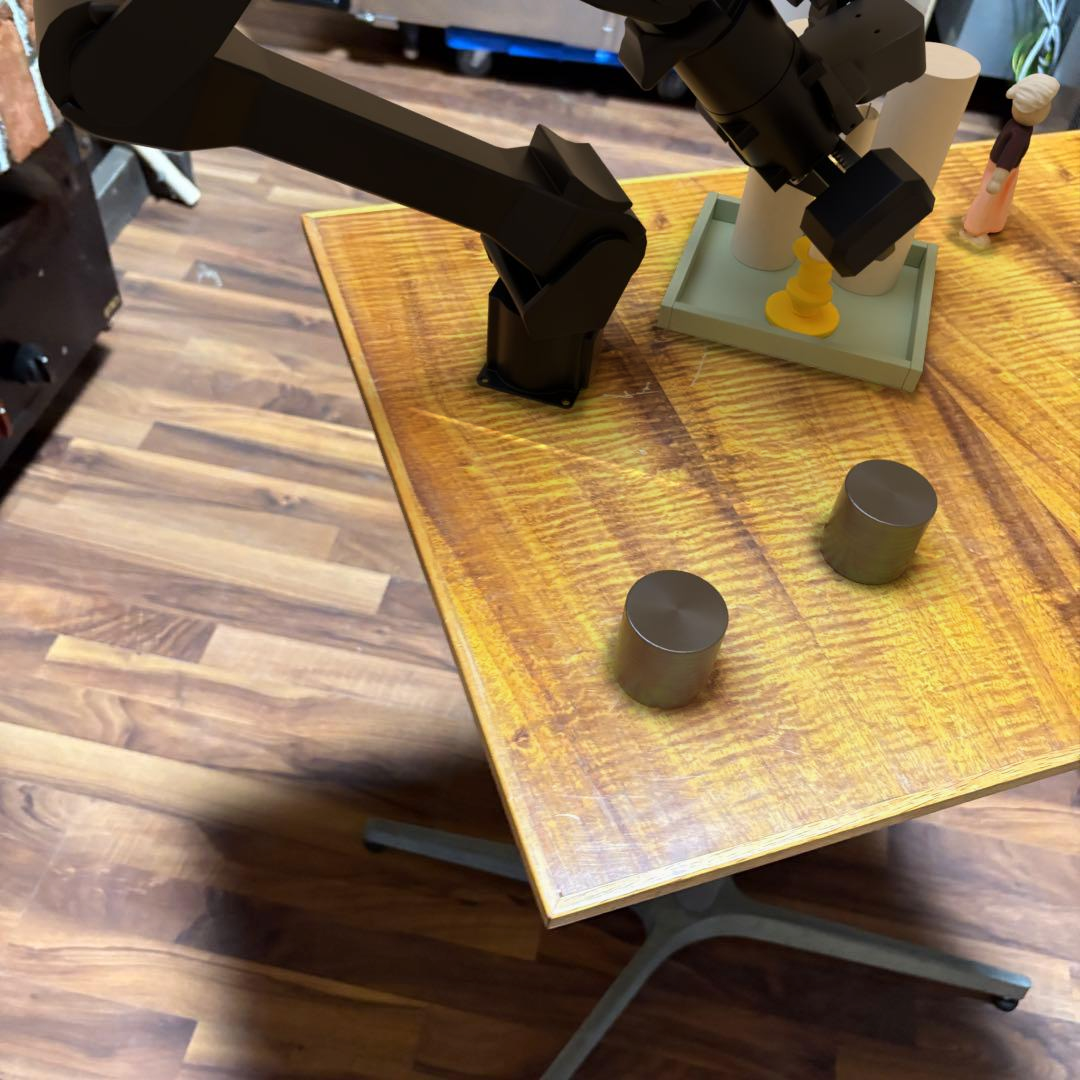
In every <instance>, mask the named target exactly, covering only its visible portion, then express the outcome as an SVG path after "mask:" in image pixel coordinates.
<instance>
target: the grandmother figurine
mask: <svg viewBox="0 0 1080 1080" xmlns="http://www.w3.org/2000/svg"><path fill="white" fill-rule="evenodd" d="M1060 87H1061V84H1060V83H1059V81H1058V80H1057V78H1055V77H1054V76H1051V75H1049V74H1046V73H1040V72H1039V73H1032V74H1029V75H1027V76H1025V77H1023V78H1021V79H1020V80H1019V81H1017V82H1016V83H1015V84H1013V85H1012V86H1011V87H1010V88H1009V89H1008V90H1007V91H1006V93H1005V97H1006V98H1007V99H1009V100H1012V107H1011V114H1012V117H1011V118H1010V119H1009V120H1008V121H1007V122H1006V123H1005V125H1004V127H1003V128H1002V130H1001V131H1000V132H999V133H998V134H997V137H995V138H996V139H995V141H994V143H993V145H992V147H991V150H990V152H989V156H988V160H987V163H986V165H985V168H984V170H983V173H982V176H981V181H980V186H979V192H978V194H977V195H976V197H975V198H974V199H973V200H972V202H971V204H970V206H969V208H968V210H967V212H966V214H965V215H964V216H962V217H961V219H960V220H961V222H962V223H964V224H963V228H964V229H961V230H959V231H958V234H959V236H960V237H961V238H963V239H965V240H966V241H969V242H971V243H972V244H974V245H977V246H980V247H987V246H989V245H991V243H992V241H991V237H990V236H989V235H988V234H989V233H998V232H1001V231H1002V230H1003V229H1004V228H1005V225H1006V222H1007V219H1008V216H1009V213H1010V210H1011V207H1012V203H1013V200H1014V195H1015V191H1016V187H1017V183H1018V177H1019V172H1020V165H1021V163H1022V160H1023V159H1024V157H1025V156H1026V154H1027V152H1028V150H1029V148H1030V145H1031V140H1032V136H1033V132H1034V126H1036V125H1038V124H1041V123H1042V122H1043V121H1045V120H1046V119H1047V117H1048V116H1049V114H1050V112H1051V109H1052V100H1053V99H1054V98H1055V97H1056V96H1057V94H1058V92H1059V90H1060Z"/></svg>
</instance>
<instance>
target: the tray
mask: <svg viewBox="0 0 1080 1080" xmlns="http://www.w3.org/2000/svg"><path fill="white" fill-rule="evenodd" d="M741 198H742V197H736V196H732V195H727V194H724V193H719V192H717V191H713V190H712V191H711V190H708V192H707V195H706V197H705V199H704V202H703V204H702V206H701V209H700V211H699V213H698V216H697V218H696V220H695V223H694V225H693V228H692V230H691V232H690V235H689V237H688V239H687V242H686V244H685V247H684V249H683V251H682V253H681V256H680V258H679V261H678V263H677V266H676V268H675V270H674V273H673V275H672V277H671V279H670V282H669V285H668V287H667V289H666V292H665V294H664V296H663V299H662V300H661V304H660V307H659V312H658V317H657V323H656V328H660V329H664V330H669V331H673V332H675V333H680V334H684V335H688V336H691V337H695V338H699V339H702V340H707V341H711V342H715V343H719V344H723V345H725V346H726V345H727V346H730V347H733V348H738V349H741V350H746V351H749V352H754V353H757V354H761V355H765V356H769V357H773V358H777V359H780V360H785V361H789V362H792V363H796V364H800V365H804V366H808V367H812V368H815V369H819V370H823V371H828V372H831V373H835V374H838V375H843V376H846V377H851V378H854V379H858V380H862V381H865V382H869V383H874V384H877V385H881V386H885V387H888V388H893V389H897V390H900V391H905V392H908V393H912V394H913V393H914V391H915V389H916V387H917V384H918V382H919V380H920V378H921V376H922V374H923V372H924V371H923V370H924V363H925V355H926V348H927V347H926V346H927V340H928V332H929V331H928V330H929V324H930V315H931V310H932V309H931V307H932V299H933V292H934V283H935V278H936V277H935V276H936V269H937V260H938V254H939V253H938V252H939V245H938V244H936V243H931V242H927V241H922V240H919V239H915V238H914V239H913V242H912V244H911V247H910V249H909V252H908V254H907V257H906V259H905V262H904V264H903V267H902V269H901V272H900V274H899V277H898V279H897V282H896V285H895V287H894V288H893V289H892V290H891V291H890V292H888V293H886V294H883V295H879V296H865V295H859V294H855V293H852V292H850V291H847V290H845V289H843V288H842V287H840V286H839V285H837V284H836V283H835V282H834V281H833V280H832V278H831V279H830V281H829V283H828V284H829V285H830V286H831V287H832V290H833V296H832V299H831V301H830V302H831V303H832V304H833V305H834V306H835V307H836V309H837V311H838V313H839V323H838V326H837V328H836V330H835V331H834V332H833V333H832V334H831V335H829V336H827V337H825V338H822V339H821V338H817V337H814V336H810V335H806V334H802V333H798V332H794V331H790V330H786V329H782V328H778V327H774V326H772V325H771V324H770V323H769V322H768V320H767V319H766V316H765V313H764V312H765V305H766V302H767V300H768V298H769V297H770V296H772V295H773V294H774V293H777V292H779V291H782V290H786V285H787V283H788V281H789V280H790V279H791V278H792V277H794V276H797V275H798V271H799V267H800V266H801V264H802V261H801V260H799V259H798V258H797V257H796V259H795V261H794V263H793V264H792V265H791V266H789V267H787V268H785V269H782V270H777V271H765V270H759V269H755V268H752V267H749V266H747V265H745V264H743V263H741V262H740V261H738V260H737V259H736V258H735V257H734V256H733V254H732V252H731V249H730V244H731V240H732V236H733V231H734V227H735V223H736V219H737V215H738V211H739V207H740V203H741ZM804 236H806V235H805V234H804V233H803V236H802V237H804Z"/></svg>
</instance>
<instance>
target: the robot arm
mask: <svg viewBox="0 0 1080 1080" xmlns="http://www.w3.org/2000/svg"><path fill="white" fill-rule="evenodd" d="M579 1H580V2H582V3H584V4H586V5H589V6H590V7H593V8H594V9H595V8H596V9H598V10H600V11H604V12H608V13H610V14H614V15H619V16H623V17H626V18H625V19H624V21H623V22H624V35H623V36H622V39H621V42H620V46H619V50H618V55H617V59H618V61H619V62H620V64H621V65H622V66H623V67H624V69H625V70H626V71H627V72H628V74H630V76H631V77H632V78H633V79H634V81H635V82H636V84H638V85H639V87H640V88H641V89H642V90H643V91H650V90H652V89H653V88H654V87H656V86H657V84H658V83H659V82H661V80H663V78H665V76H667V74H669V72H671V70H672V69H673V70H674V71H675V73H677V75H678V76H679V77H680V78H681V80H682V81H683V83H685V85H686V86H687V87H688V88H689V90H690V91H691V93H693V95H694V96H695V97H696V100H695V106H694V108H695V109H696V111H697V113H699V114H700V115H701V117H702V118H703V120H704V121H705V122H706V123H707V124H708V125H709V127H710V128H711V129H712V130H713V131H714V132H715V134H716V135H717V136H718V137H719V138H720V139H721V141H722V142H723V143H724V144H725V145H726V144H727V145H728V147H729V148H730V149H731V150H732V152H734V154H735V155H736V156H737V157H738V158H739V159H740V161H741V162H742V163H743V164H744V165H745V166H747V167H748V168H749V167H751V168H753V169H755V171H756V172H757V173H758V174H759V175H760V176H761V177H762V179H763V180H764V181H765V182H766V183H767V184H768V185H769V187H770V188H771V189H772V190H773V191H774V192H775V193H776V192H777V191H778V190H779V189H780V188H781V187H782V186H783V185H785V184H788V185H790V186H792V187H794V188H796V189H798V190H800V191H802V192H805V193H807V194H809V195H811V196H813V197H814V200H813V201H812V202H811V203H810V204H809V205H807V206H806V207H805V211H804V214H803V217H802V221H801V224H800V227H799V228H800V229H801V230H802V231H803V233H804V234H805V235H806V236H807V238H808V239H809V240H810V241H811V242H812V243H813V245H814V246H815V247H816V248H817V249H818V251H819V252H820V253H821V254H822V255H823V256H824V258H825V259H826V260H827V261H828V262H829V263H830V264H831V266H832V267H833V268H834V269H835V270H836V271H837V273H838V274H839V275H840V276H841V277H842V278H844V277H855V276H856V275H858V274H859V273H860V272H861V271H862V270H863V269H865V268H866V267H867V266H868V265H869V264H871V263H872V262H873V261H874V260H875V261H880V262H881V261H884V260H885V259H886V258H887V257H889V256H890V255H891V254H892V253H893V252H894V251H895V243H896V242H897V241H898V240H899V239H900V238H902V237H903V236H904V235H905V234H906V233H907V232H909V231H910V230H911V229H912V228H913V227H915V226H916V225H917V224H918V223H919V222H920V223H921V222H922V221H923V220H925V218H927V217H928V216H929V215H930V214H932V213H933V211H934V207H935V203H936V196H935V195H934V193H933V192H932V191H931V190H930V188H929V186H928V185H927V183H926V181H925V180H924V179H923V178H922V177H921V176H920V175H919V174H918V173H917V172H916V171H915V170H914V169H913V168H912V167H911V166H910V165H909V164H908V163H906V162H905V161H904V160H903V159H902V158H901V157H900V156H899V155H898V154H897V153H896V152H895V151H894V150H893V149H892V148H891V147H889V148H881V149H872V150H869V151H868V152H867V153H866V154H865V155H864V156H863V157H862V158H861V157H860V156H859V155H858V154H857V153H856V152H855V151H854V150H853V149H852V148H851V147H850V146H849V145H848V144H847V143H846V142H845V141H844V140H845V139H843V138H842V137H841V136H840V135H841V134H843V135H844V136H846V135H848V134H850V133H851V132H852V131H853V130H854V129H855V128H856V127H857V126H858V125H860V124H861V123H862V122H863V121H864V120H865V119H864V118H863V116H862V115H861V113H860V111H859V110H858V108H857V107H858V106H861V105H867V104H868V103H871V102H872V101H874V100H875V99H878V98H879V97H882V96H883V95H886V94H887V92H889V91H891V90H893V89H894V88H896V87H898V86H900V85H902V84H904V83H906V82H908V83H911V82H913V81H915V80H917V79H918V78H920V77H921V76H922V75H923V74H924V73H925V71H926V45H925V42H926V23H925V15H924V14H923V12H922V11H920V10H918V8H916V7H915V6H913V5H912V4H911V3H910V2H908V1H907V0H808V1H809V2H810V5H809V10H808V13H807V14H808V15H807V16H808V17H807V18H808V27H807V28H806V29H805V30H804V33H803V34H802V35H801V36H799V37H797V35H796V34H795V32H794V31H793V30H792V29H791V28H790V27H789V26H787V22H786V21H785V19H784V18H783V16H782V15H781V13H780V12H779V11H778V9H777V7H776V6H775V4H774V3H773V0H579ZM804 1H805V0H786V2H788V3H789V4H790V6H792V7H793V8H798V7H800V5H802V3H803V2H804ZM251 2H252V0H32V11H33V22H34V33H35V46H36V57H37V67H38V70H39V71H38V72H39V74H40V77H41V82H42V84H43V88H44V90H45V91H46V93H47V95H48V96H49V97H50V99H51V101H52V102H53V104H54V105H55V107H56V108H57V110H59V112H60V115H61V116H62V118H64V119H65V120H66V121H67V122H69V123H70V124H71V125H72V126H74V127H75V128H77V129H78V130H81V131H83V132H84V133H86V134H89V135H90V136H92V137H95V138H99V139H103V140H107V141H109V142H110V141H111V142H116V143H122V144H127V145H133V146H138V147H145V148H149V149H153V150H160V151H166V152H172V153H188V152H189V153H190V152H198V151H208V150H209V151H210V150H217V149H227V148H235V149H236V148H237V149H242V150H247V151H249V152H252V153H254V154H258V155H261V156H264V157H267V158H269V159H272V160H275V161H278V162H279V163H280V162H281V163H283V164H286V165H289V166H292V167H295V168H297V169H300V170H303V171H306V172H309V173H311V174H314V175H317V176H319V177H321V178H326V179H328V180H331V181H332V182H333V181H334V182H336V183H339V184H342V185H344V186H348V187H350V188H353V189H356V190H359V191H361V192H364V193H367V194H370V195H372V196H374V197H378V198H381V199H384V200H387V201H389V202H392V203H395V204H397V205H400V206H403V207H406V208H409V209H412V210H415V211H417V212H420V213H422V214H425V215H428V216H431V217H434V218H437V219H439V220H442V221H445V222H448V223H450V224H453V225H456V226H459V227H462V228H465V229H467V230H470V231H472V232H475V233H478V234H479V238H480V240H481V243H482V246H483V248H484V251H485V254H486V256H487V258H488V260H489V263H491V264H492V265H493V267H494V268H495V271H496V272H497V274H498V278H497V279H496V281H495V283H494V284H493V286H492V287H491V289H490V290H489V292H488V298H487V299H488V300H487V301H488V302H487V303H488V304H487V324H486V325H487V326H486V327H487V329H486V354H485V362H484V365H483V366H482V368H481V370H480V371H479V373H478V375H477V377H476V380H475V382H476V384H477V385H478V386H480V387H483V388H486V389H491V390H494V391H498V392H502V393H505V394H508V395H513V396H515V397H519V398H523V399H526V400H531V401H533V402H537V403H541V404H545V405H549V406H552V407H555V408H560V409H563V410H570V409H573V407H574V406H575V404H576V401H577V399H578V397H579V395H580V393H581V390H583V391H585V390H587V389H589V388H590V385H591V383H592V381H593V379H594V377H595V375H596V373H597V370H598V368H599V366H600V359H601V352H602V345H603V339H604V331H605V327H606V326H607V325H608V322H609V320H610V318H611V316H612V315H613V313H614V311H615V309H616V308H617V305H618V304H619V301H620V300H621V298H622V296H623V294H624V292H625V290H626V288H627V286H628V285H629V282H630V281H631V279H632V278H633V275H634V274H635V273H636V272H637V271H638V270H639V268H640V266H641V264H642V262H643V260H644V258H645V257H646V251H647V246H648V238H647V229H646V227H645V226H644V225H643V223H642V221H641V220H640V219H639V217H638V216H637V215H636V213H635V212H634V210H633V209H632V208H633V206H634V204H633V202H632V200H631V198H629V196H628V195H627V193H626V192H625V191H624V188H623V187H622V186H621V185H620V183H619V182H618V181H617V179H616V178H615V176H614V175H613V174H612V173H611V171H610V169H609V168H608V167H607V165H606V164H605V163H604V161H603V159H601V157H600V155H599V154H598V152H597V151H596V149H595V148H594V147H593V146H592V145H591V143H590V142H575V141H571V140H567V139H565V138H563V137H561V136H560V135H558V134H557V133H555V132H554V131H553V130H551V129H550V128H549V127H548V126H546V125H544V124H542V123H538V124H537V125H536V126H535V129H534V132H533V134H532V137H531V140H530V142H529V145H521V146H515V147H508V148H507V147H501V146H497V145H494V144H492V143H489V142H487V141H485V140H483V139H480V138H478V137H476V136H473V135H471V134H468V133H466V132H464V131H462V130H459V129H456V128H454V127H452V126H449V125H447V124H444V123H443V122H440V121H438V120H435V119H433V118H431V117H428V116H426V115H424V114H421V113H419V112H416V111H414V110H411V109H409V108H408V107H404V106H402V105H400V104H397V103H395V102H393V101H391V100H388V99H386V98H384V97H381V96H378V95H376V94H374V93H372V92H369V91H367V90H366V89H365V90H364V89H363V88H360V87H357V86H355V85H352V84H351V83H348V82H345V81H343V80H341V79H339V78H336V77H334V76H331V75H329V74H327V73H324V72H322V71H319V70H317V69H315V68H313V67H310V66H308V65H306V64H303V63H301V62H299V61H296V60H294V59H291V58H289V57H287V56H284V55H282V54H279V53H278V52H276V51H275V52H274V51H272V50H270V49H268V48H265V47H263V46H261V45H259V44H258V43H256V42H254V41H253V40H252V39H250V38H249V37H247V35H246V34H244V33H243V32H242V31H240V30H239V29H238V28H237V27H236V25H237V23H238V22H239V20H240V19H241V17H242V15H244V13H245V11H246V10H247V8H248V6H249V5H250V4H251ZM830 156H831V158H832V159H834V161H835V162H836V163H835V162H834V161H833V160H832V159H831V158H830ZM837 162H838V163H839V164H840V165H841V166H842V167H843V168H844V169H845V170H846V172H845V173H843V171H842V170H841V169H840V168H839V167H838V166H837ZM482 380H487V381H482ZM563 402H568V403H569V404H565V403H563Z"/></svg>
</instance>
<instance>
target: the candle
mask: <svg viewBox="0 0 1080 1080" xmlns="http://www.w3.org/2000/svg"><path fill="white" fill-rule="evenodd" d="M856 107H857V108H858V110H859V111H860V113H861V115H862V116H863V118H864V119H865V120H864V121H863V122H862V123H861V124H860V125H858V126H857V127H856V128H855V129H854V130H853V131H852V132H851V133H850V134H848V135H845V137H844V139H843V140H844V141H845V142H846V143H847V144H848V145H849V146H850V147H851V148H852V149H853V150H854V151H855V152H856V153H857V154H858V155H859V156H860V157H861V158H862V157H863V156H864V155H865V154H866V153H867V152H868V151H869V150H870V147H871V144H872V140H873V137H874V133H875V130H876V126H877V123H878V120H879V115H880V112H879V111H878V109H877V108H875V107H874V106H872V102H869V105H867V104H862V105H857V106H856ZM836 165H837V166H838V167H839V168H840V169H841V170H842V171H843V173H845V172H846V170H845V169H844V168H843V167H842V166H841V165H840V164H839V163H838V162H837V161H836ZM793 252H794V254H795V256H796V257H797V258H798V259H799V260H801V261H802V264H801V266H800V267H799V271H798V275H797V276H794V277H792V278H791V279H790V280H789V281H788V283H787V285H786V290H782V291H779V292H777V293H774V294H773V295H772V296H770V297H769V298H768V300H767V302H766V305H765V312H764V313H765V316H766V319H767V320H768V322H769V323H770V324H771V325H772V326H774V327H778V328H782V329H786V330H790V331H794V332H798V333H802V334H806V335H810V336H814V337H817V338H821V339H822V338H825V337H827V336H829V335H831V334H832V333H833V332H834V331H835V330H836V328H837V326H838V323H839V313H838V311H837V309H836V307H835V306H834V305H833V304H832V303H831V302H830V301H831V299H832V296H833V290H832V287H831V286H830V285H829V284H828V283H829V281H830V279H831V277H832V270H835V269H834V268H833V267H832V266H831V264H830V263H829V262H828V261H827V260H826V259H825V258H824V256H823V255H822V254H821V253H820V252H819V251H818V249H817V248H816V247H815V246H814V245H813V243H812V242H811V241H810V240H809V239H808V238H807V236H804V237H801V238H799V239H798V240H796V241H795V243H794V245H793Z"/></svg>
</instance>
